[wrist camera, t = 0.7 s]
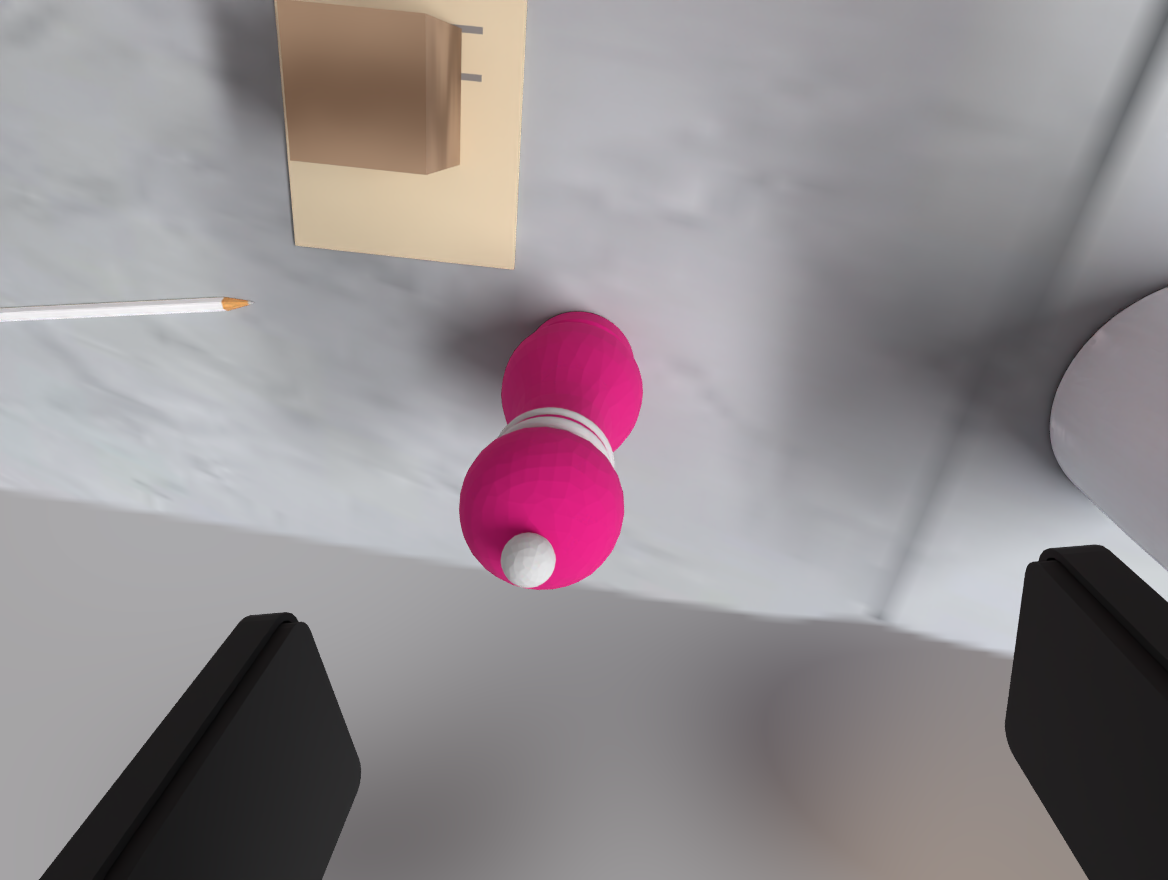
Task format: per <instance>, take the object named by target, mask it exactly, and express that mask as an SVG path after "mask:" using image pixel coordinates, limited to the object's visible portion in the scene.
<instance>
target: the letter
mask: <svg viewBox="0 0 1168 880" xmlns="http://www.w3.org/2000/svg"><path fill="white" fill-rule="evenodd" d="M296 1H306V2H316V3H326V4H336V5H347V6H357V7H367V8H377V9H387V10H397V11H407V12H417V13H426V14H428V15H431V16H433V17H435V18H438V19H440V20H442V21H445V22H447V23H449V24H452V25H454V26H457V27H459V28H461V29H462V53H461V127H460V165H458V166H454V167H451V168H448V169H445V170H441V171H438V172H435V173H431V174H428V175H421V174H412V173H403V172H393V171H384V170H374V169H365V168H356V167H346V166H337V165H328V164H318V163H309V162H300V161H290V152H289V141H288V129H287V117H286V105H285V94H284V82H283V70H282V59H281V47H280V35H279V23H278V12H277V0H274V4H275V15H276V27H277V39H278V50H279V62H280V73H281V85H282V96H283V108H284V119H285V131H286V142H287V154H288V166H289V177H290V189H291V200H292V212H293V223H294V235H295V246H304V247H313V248H322V249H331V250H340V251H349V252H358V253H367V254H376V255H385V256H394V257H403V258H412V259H421V260H430V261H439V262H448V263H457V264H466V265H475V266H484V267H493V268H502V269H511V270H514V265H515V245H516V224H517V203H518V182H519V162H520V141H521V120H522V99H523V79H524V58H525V37H526V16H527V0H296Z"/></svg>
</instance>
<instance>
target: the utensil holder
mask: <svg viewBox="0 0 1168 880" xmlns="http://www.w3.org/2000/svg"><path fill="white" fill-rule="evenodd" d="M1050 438H1051V445H1052V448H1053V452H1054V455H1055V457H1056V459H1057V461H1058V463H1059V465H1060V467H1061V468H1062V470H1063V471H1064V473H1065V474H1066V476H1067V477H1068V478H1069V479H1070V480H1071V481H1072V482H1073V484H1074V485H1075V486H1076V487H1077V488H1079V489H1080V490H1081V491H1082V492H1083V493H1084V494H1085V495H1086V496H1087V497H1088V498H1089V499H1090V500H1091V501H1092V502H1093V503H1094V504H1095V505H1096V506H1097V507H1098V508H1099V509H1100V510H1101V511H1102V512H1103V513H1104V514H1105V515H1107V516H1108V517H1109V518H1110V519H1111V520H1112V521H1113V522H1114V523H1115V524H1116V525H1117V526H1118V527H1119V528H1120V529H1121V530H1122V531H1123V532H1125V533H1126V534H1127V535H1128V536H1129V537H1130V538H1131V539H1132V540H1133V541H1134V542H1135V543H1137V544H1138V545H1139V546H1140V547H1141V548H1142V549H1143V550H1144V551H1145V552H1147V553H1148V554H1149V555H1150V556H1151V557H1152V558H1153V559H1154V560H1156V561H1157V562H1158V563H1159V564H1160V565H1161V566H1162V567H1163V568H1165V569H1166V570H1167V571H1168V287H1166V288H1164V289H1162V290H1159V291H1157V292H1154V293H1152V294H1150V295H1148V296H1146V297H1144V298H1143V299H1141V300H1139V301H1137V302H1136V303H1134V304H1132V305H1131V306H1129V307H1128V308H1126V309H1125V310H1123V311H1122V312H1120V313H1119V314H1117V315H1116V316H1115V317H1113V318H1112V319H1111V320H1110V321H1108V322H1107V323H1106V324H1105V325H1104V326H1103V327H1101V328H1100V329H1099V330H1098V331H1097V332H1096V333H1095V334H1094V335H1093V336H1092V338H1091V339H1090V340H1089V341H1088V342H1087V343H1086V344H1085V345H1084V346H1083V347H1082V349H1081V350H1080V351H1079V352H1078V354H1077V355H1076V356H1075V358H1074V359H1073V361H1072V362H1071V364H1070V366H1069V367H1068V369H1067V370H1066V372H1065V374H1064V376H1063V378H1062V380H1061V382H1060V385H1059V387H1058V389H1057V392H1056V395H1055V398H1054V402H1053V405H1052V411H1051V418H1050Z"/></svg>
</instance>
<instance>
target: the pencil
mask: <svg viewBox="0 0 1168 880" xmlns="http://www.w3.org/2000/svg"><path fill="white" fill-rule="evenodd" d="M252 303H255V302H251V301H246V300H240V299H233V298H227V297H214V298H194V299H174V300H154V301H134V302H114V303H94V304H73V305H53V306H33V307H13V308H0V322H4V321H25V320H46V319H67V318H88V317H109V316H130V315H151V314H172V313H193V312H214V311H229V310H233V309H236V308H240V307H243V306H247V305H250V304H252Z"/></svg>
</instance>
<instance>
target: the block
mask: <svg viewBox="0 0 1168 880" xmlns="http://www.w3.org/2000/svg"><path fill="white" fill-rule="evenodd" d="M277 12H278V23H279V35H280V47H281V59H282V70H283V82H284V94H285V105H286V117H287V129H288V141H289V152H290V161H300V162H309V163H318V164H328V165H337V166H346V167H356V168H365V169H374V170H384V171H393V172H403V173H412V174H421V175H428V174H431V173H435V172H438V171H441V170H445V169H448V168H451V167H454V166H458V165H460V127H461V53H462V29H461V28H459V27H457V26H454V25H452V24H449V23H447V22H445V21H442V20H440V19H438V18H435V17H433V16H431V15H428V14H426V13H417V12H407V11H397V10H387V9H377V8H367V7H357V6H347V5H336V4H326V3H316V2H306V1H296V0H277Z"/></svg>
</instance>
